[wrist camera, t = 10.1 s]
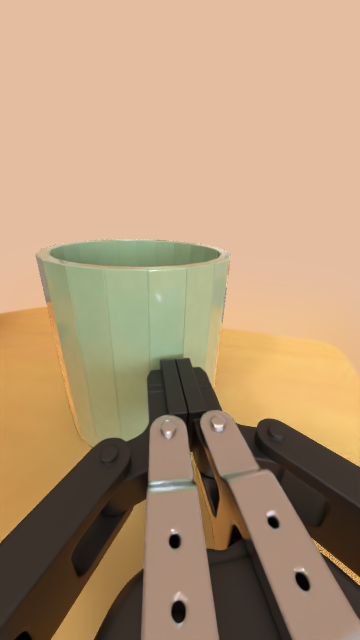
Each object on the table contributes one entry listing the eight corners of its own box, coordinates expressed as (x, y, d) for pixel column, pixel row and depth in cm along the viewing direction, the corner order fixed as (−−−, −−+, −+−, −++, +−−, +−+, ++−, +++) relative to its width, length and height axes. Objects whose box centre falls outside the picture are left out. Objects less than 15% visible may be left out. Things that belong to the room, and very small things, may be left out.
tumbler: (156, 499, 13) (153, 285, 7) (42, 408, 18) (-5, 248, 13) (232, 384, 21) (254, 249, 16) (140, 347, 27) (135, 236, 21)
